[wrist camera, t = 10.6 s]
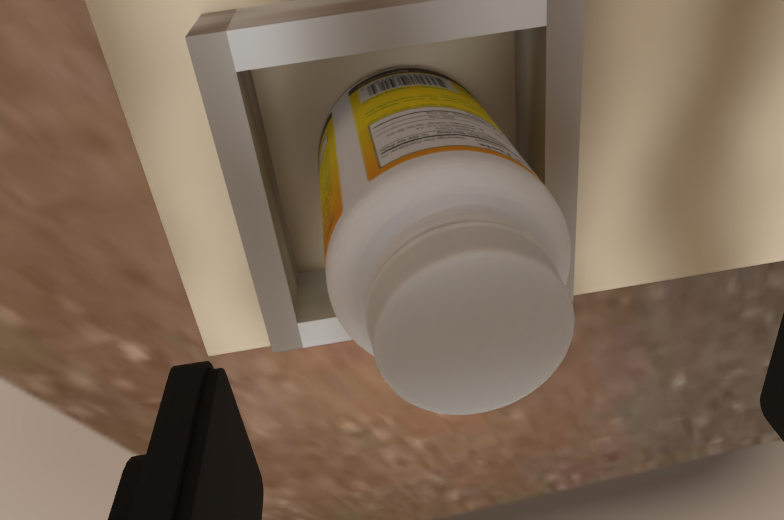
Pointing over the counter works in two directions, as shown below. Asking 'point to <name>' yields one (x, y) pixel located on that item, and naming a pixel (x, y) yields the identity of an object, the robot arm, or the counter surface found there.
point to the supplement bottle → (441, 245)
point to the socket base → (496, 96)
